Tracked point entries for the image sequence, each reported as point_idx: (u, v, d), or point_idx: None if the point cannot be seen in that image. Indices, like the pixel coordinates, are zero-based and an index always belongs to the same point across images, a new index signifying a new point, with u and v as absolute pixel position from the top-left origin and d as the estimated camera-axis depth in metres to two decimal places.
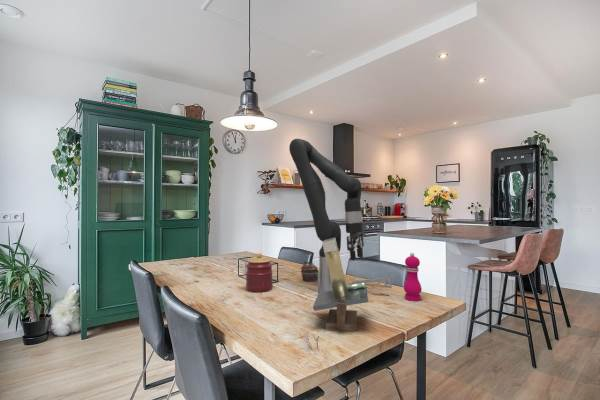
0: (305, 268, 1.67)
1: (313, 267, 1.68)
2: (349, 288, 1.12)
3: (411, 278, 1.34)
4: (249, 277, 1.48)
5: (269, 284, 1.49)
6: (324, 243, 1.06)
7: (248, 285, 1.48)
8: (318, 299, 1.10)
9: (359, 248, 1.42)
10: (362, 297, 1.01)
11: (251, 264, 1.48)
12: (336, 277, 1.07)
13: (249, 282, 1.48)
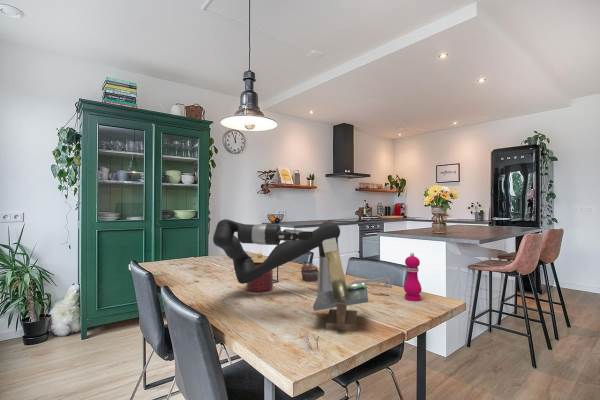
0: (305, 268, 1.67)
1: (313, 267, 1.68)
2: (349, 288, 1.12)
3: (411, 278, 1.34)
4: None
5: (270, 284, 1.50)
6: (324, 243, 1.06)
7: (249, 285, 1.48)
8: (318, 299, 1.10)
9: None
10: (362, 297, 1.01)
11: None
12: (336, 277, 1.07)
13: (250, 282, 1.48)
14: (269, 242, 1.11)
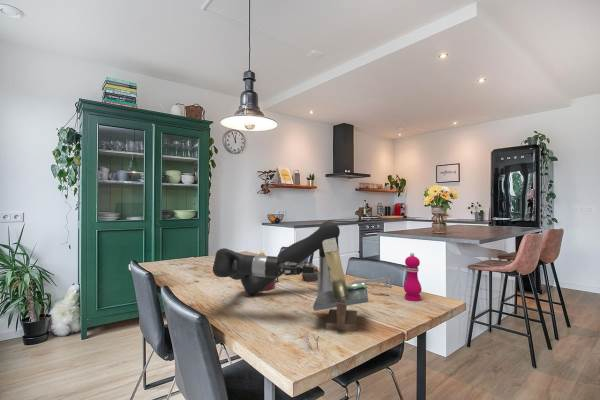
0: None
1: None
2: (349, 288, 1.12)
3: (411, 278, 1.34)
4: None
5: (273, 282, 1.52)
6: (324, 243, 1.06)
7: None
8: (318, 299, 1.10)
9: None
10: (362, 297, 1.01)
11: None
12: (336, 277, 1.07)
13: None
14: (269, 275, 1.11)
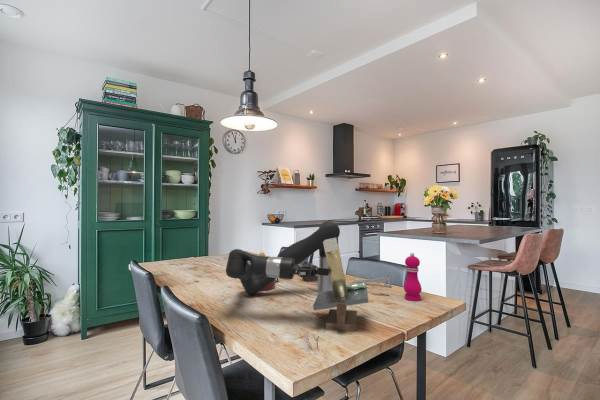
0: None
1: None
2: (349, 288, 1.12)
3: (411, 278, 1.34)
4: None
5: (273, 282, 1.52)
6: (325, 243, 1.06)
7: None
8: (318, 299, 1.10)
9: None
10: (362, 297, 1.01)
11: None
12: (337, 277, 1.07)
13: None
14: (283, 277, 1.09)
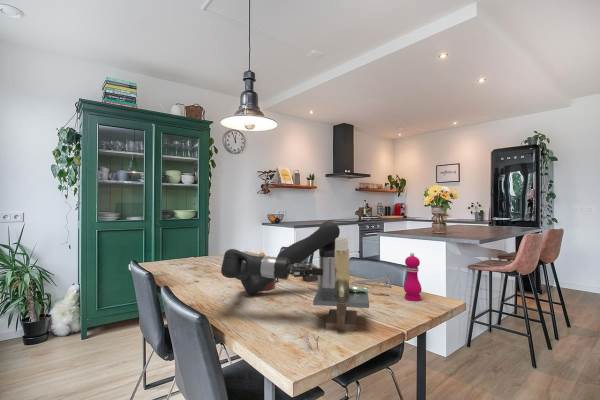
0: None
1: (313, 267, 1.68)
2: (351, 290, 1.12)
3: (411, 278, 1.34)
4: None
5: (273, 282, 1.52)
6: (337, 241, 1.06)
7: None
8: (318, 294, 1.10)
9: None
10: (364, 302, 1.01)
11: None
12: (341, 277, 1.07)
13: None
14: (278, 276, 1.10)
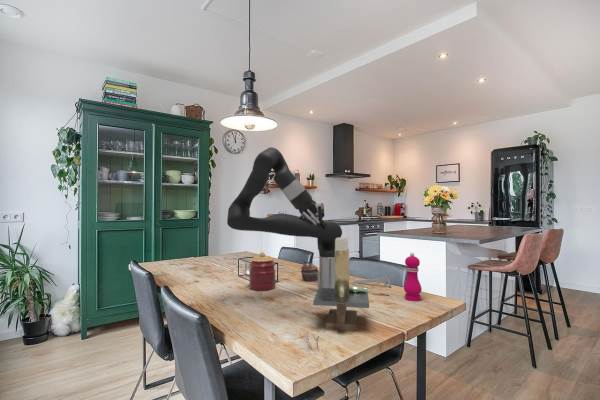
0: (305, 268, 1.67)
1: (313, 267, 1.68)
2: (351, 290, 1.12)
3: (411, 278, 1.34)
4: (253, 276, 1.50)
5: (273, 282, 1.53)
6: (337, 241, 1.06)
7: (252, 284, 1.51)
8: (318, 294, 1.10)
9: None
10: (364, 302, 1.01)
11: (255, 263, 1.51)
12: (341, 277, 1.07)
13: (253, 281, 1.50)
14: (300, 198, 1.13)
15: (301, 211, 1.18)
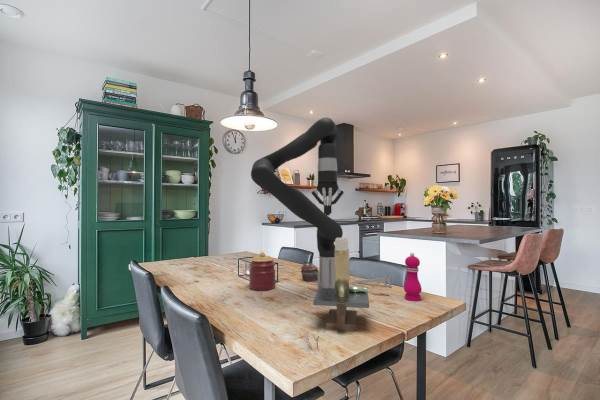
0: (305, 268, 1.67)
1: (313, 267, 1.68)
2: (351, 290, 1.12)
3: (411, 278, 1.34)
4: (253, 276, 1.50)
5: (273, 282, 1.53)
6: (337, 241, 1.06)
7: (252, 284, 1.51)
8: (318, 294, 1.10)
9: None
10: (364, 302, 1.01)
11: (255, 263, 1.51)
12: (341, 277, 1.07)
13: (253, 281, 1.50)
14: (333, 174, 1.18)
15: (320, 187, 1.21)
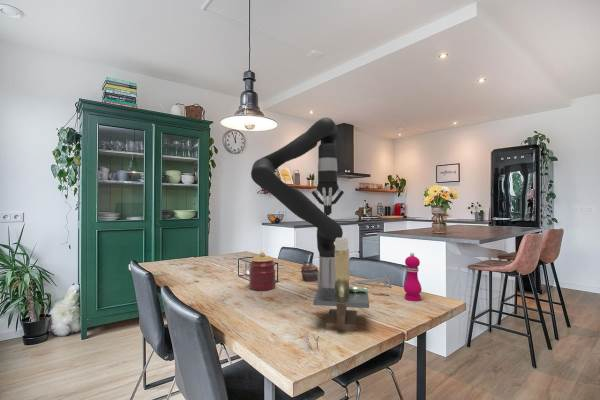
0: (305, 268, 1.67)
1: (313, 267, 1.68)
2: (351, 290, 1.12)
3: (411, 278, 1.34)
4: (253, 276, 1.50)
5: (273, 282, 1.53)
6: (337, 241, 1.06)
7: (252, 284, 1.51)
8: (318, 294, 1.10)
9: None
10: (364, 302, 1.01)
11: (255, 263, 1.51)
12: (341, 277, 1.07)
13: (253, 281, 1.50)
14: (333, 174, 1.18)
15: (320, 187, 1.21)
